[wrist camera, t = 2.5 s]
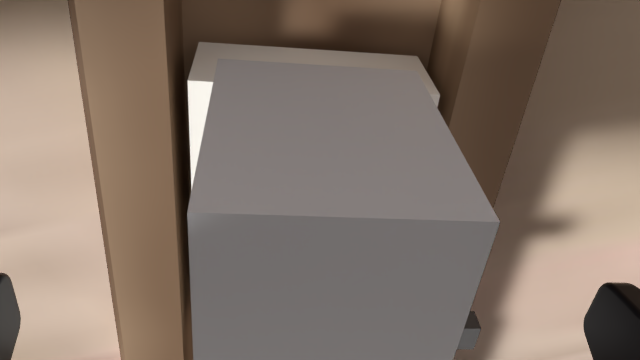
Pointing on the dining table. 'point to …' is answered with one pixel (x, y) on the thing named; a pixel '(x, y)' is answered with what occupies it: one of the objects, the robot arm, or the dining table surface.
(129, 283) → the gauge bench
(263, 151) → the pale grey cube box
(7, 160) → the dining table surface
